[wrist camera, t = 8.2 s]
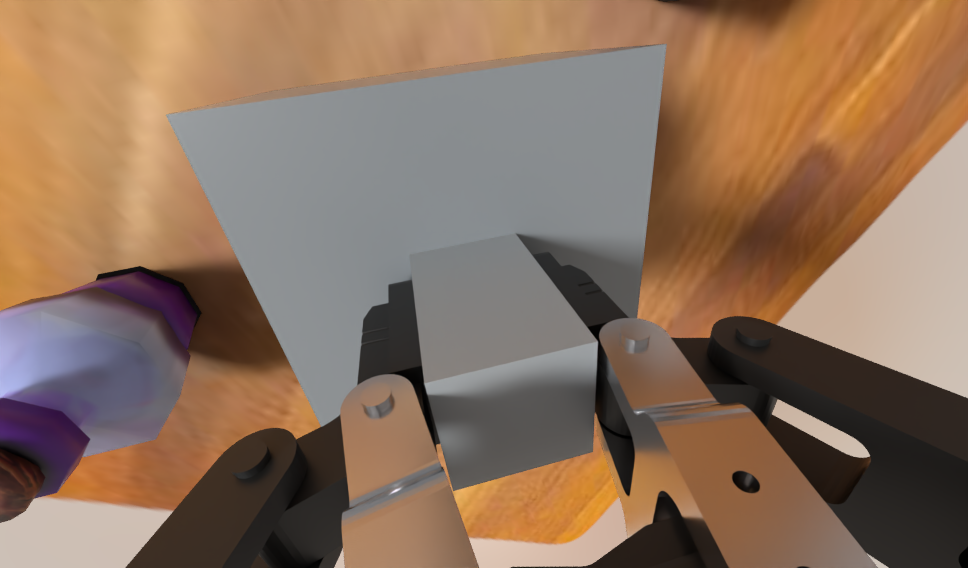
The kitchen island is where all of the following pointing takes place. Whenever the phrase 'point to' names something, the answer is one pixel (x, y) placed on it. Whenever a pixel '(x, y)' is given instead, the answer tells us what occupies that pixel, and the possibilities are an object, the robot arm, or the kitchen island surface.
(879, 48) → the kitchen island surface
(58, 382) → the potion bottle
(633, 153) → the grey block
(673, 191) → the kitchen island surface
